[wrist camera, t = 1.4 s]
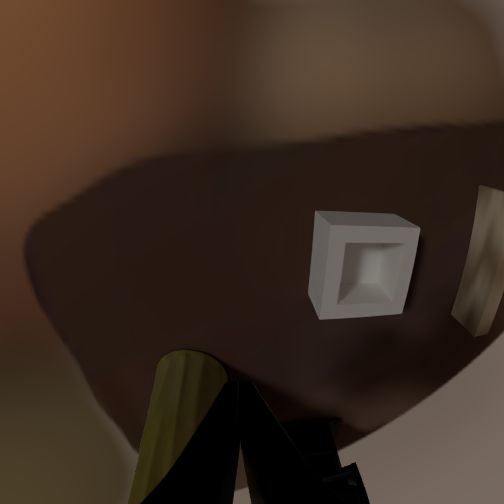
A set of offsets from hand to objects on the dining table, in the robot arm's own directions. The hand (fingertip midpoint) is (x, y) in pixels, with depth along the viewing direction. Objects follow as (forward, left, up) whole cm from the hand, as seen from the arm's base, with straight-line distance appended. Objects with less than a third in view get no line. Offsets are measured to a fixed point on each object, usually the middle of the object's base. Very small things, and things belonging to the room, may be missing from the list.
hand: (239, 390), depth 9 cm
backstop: (0, -20, -12) cm, 24 cm away
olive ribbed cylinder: (-11, +4, -12) cm, 17 cm away
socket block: (0, -8, -12) cm, 15 cm away
